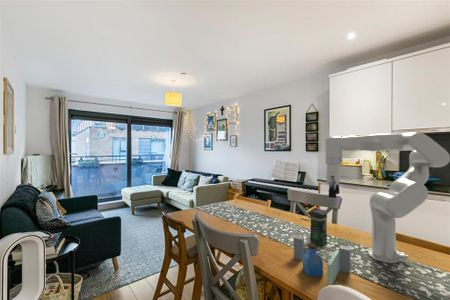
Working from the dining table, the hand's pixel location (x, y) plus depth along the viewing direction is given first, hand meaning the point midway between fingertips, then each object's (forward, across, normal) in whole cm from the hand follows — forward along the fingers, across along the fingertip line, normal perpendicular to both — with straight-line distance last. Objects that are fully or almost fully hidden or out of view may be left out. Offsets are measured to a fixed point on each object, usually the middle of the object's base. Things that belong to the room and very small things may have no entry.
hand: (334, 195), depth 109 cm
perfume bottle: (+31, +21, -6) cm, 38 cm away
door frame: (+30, +12, -4) cm, 33 cm away
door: (+30, +22, +3) cm, 37 cm away
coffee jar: (+31, -12, -10) cm, 34 cm away
